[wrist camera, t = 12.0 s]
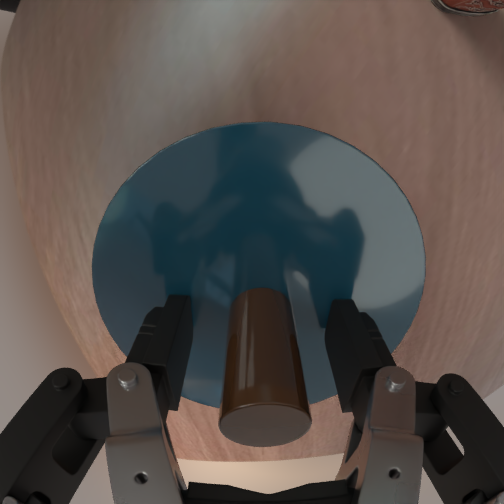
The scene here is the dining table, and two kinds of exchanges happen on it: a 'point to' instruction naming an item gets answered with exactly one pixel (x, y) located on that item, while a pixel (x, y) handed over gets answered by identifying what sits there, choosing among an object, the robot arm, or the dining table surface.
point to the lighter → (469, 6)
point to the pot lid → (259, 264)
